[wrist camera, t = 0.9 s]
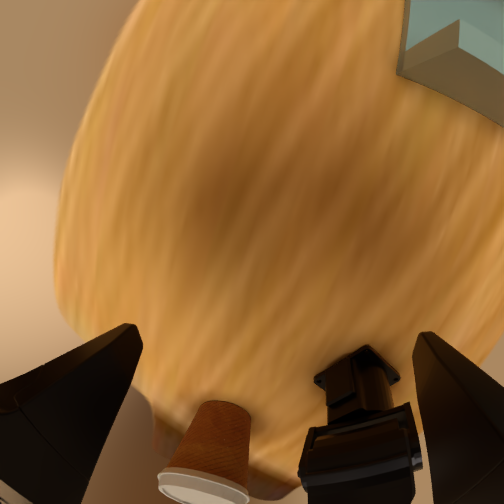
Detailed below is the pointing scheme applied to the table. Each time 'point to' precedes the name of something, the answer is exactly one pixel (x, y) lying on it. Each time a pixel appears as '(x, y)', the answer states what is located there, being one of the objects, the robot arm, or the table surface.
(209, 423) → the disposable coffee cup
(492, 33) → the teal plastic shell
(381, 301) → the table surface
